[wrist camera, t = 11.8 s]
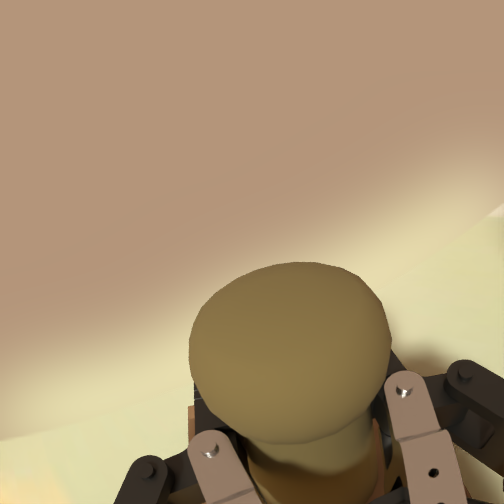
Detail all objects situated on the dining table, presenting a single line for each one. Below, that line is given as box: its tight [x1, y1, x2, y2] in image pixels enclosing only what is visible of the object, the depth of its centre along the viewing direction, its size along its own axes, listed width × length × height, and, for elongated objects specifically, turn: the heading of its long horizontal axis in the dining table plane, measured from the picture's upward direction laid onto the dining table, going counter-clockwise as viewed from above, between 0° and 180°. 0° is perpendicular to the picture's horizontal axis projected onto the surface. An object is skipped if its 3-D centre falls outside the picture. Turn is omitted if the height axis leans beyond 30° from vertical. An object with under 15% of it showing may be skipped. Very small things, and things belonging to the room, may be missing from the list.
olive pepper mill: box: [189, 262, 392, 504], centre depth 9 cm, size 6×6×11 cm
